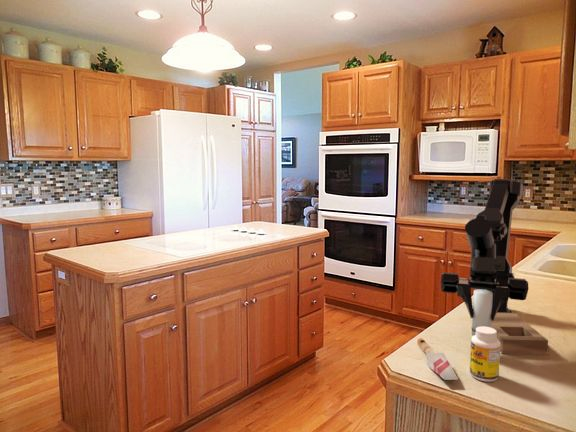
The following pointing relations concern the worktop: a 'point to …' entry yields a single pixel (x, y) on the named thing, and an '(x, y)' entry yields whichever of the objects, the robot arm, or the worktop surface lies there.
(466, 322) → the worktop surface
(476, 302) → the peg
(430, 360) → the paintbrush
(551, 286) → the worktop surface
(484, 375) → the supplement bottle
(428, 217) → the worktop surface
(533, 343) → the brown holed block
